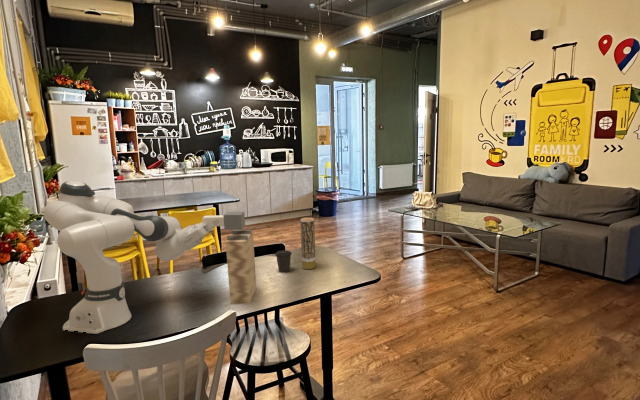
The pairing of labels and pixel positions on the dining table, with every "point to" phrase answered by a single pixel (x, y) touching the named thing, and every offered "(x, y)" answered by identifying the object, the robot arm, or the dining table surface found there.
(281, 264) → the coffee cup
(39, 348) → the dining table surface
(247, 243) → the beige zigzag patterned box
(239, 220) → the hammer
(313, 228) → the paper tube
